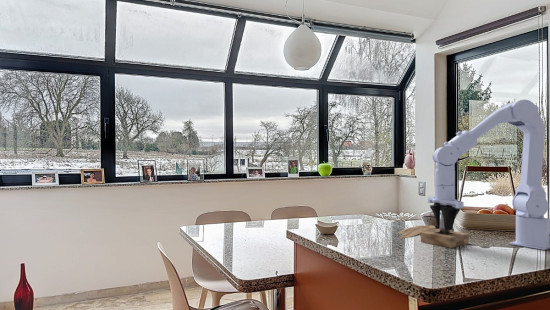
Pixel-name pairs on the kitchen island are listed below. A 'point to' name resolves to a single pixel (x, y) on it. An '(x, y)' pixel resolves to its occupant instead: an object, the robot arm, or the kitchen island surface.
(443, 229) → the steel peg
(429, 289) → the kitchen island surface
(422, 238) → the walnut hole block
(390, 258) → the kitchen island surface
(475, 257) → the kitchen island surface
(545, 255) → the kitchen island surface
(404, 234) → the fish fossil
